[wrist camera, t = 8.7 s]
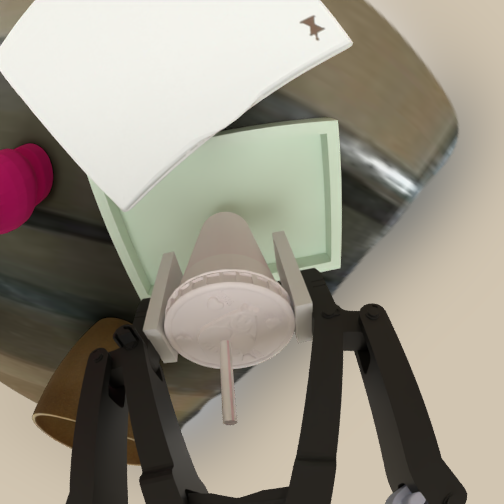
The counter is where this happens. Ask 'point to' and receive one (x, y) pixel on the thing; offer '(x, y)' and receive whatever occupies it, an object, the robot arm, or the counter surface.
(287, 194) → the tray
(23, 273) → the counter surface
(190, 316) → the smoothie
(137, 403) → the robot arm
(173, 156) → the supplement box
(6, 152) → the pepper mill
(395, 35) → the counter surface
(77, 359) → the plant pot
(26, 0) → the counter surface
